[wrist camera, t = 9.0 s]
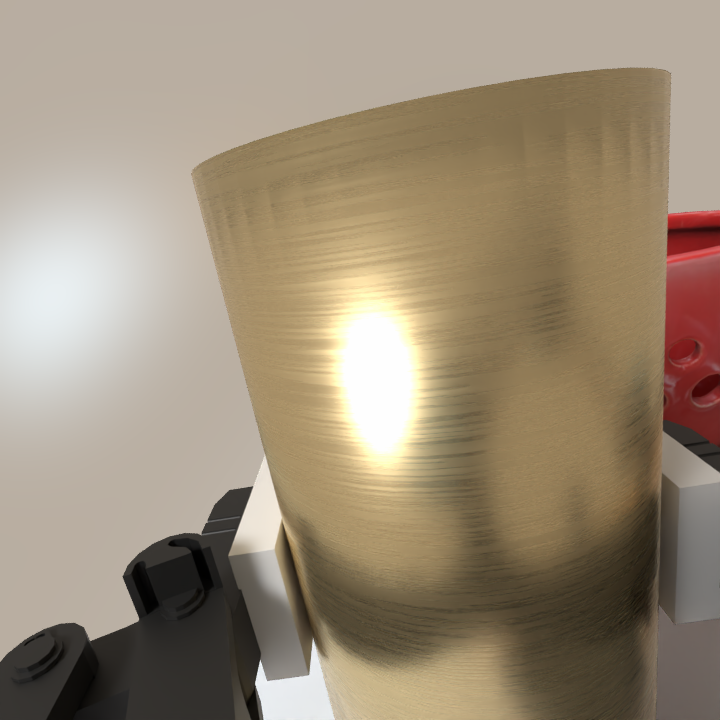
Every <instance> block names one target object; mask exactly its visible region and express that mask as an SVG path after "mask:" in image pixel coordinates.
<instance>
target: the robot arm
mask: <svg viewBox="0 0 720 720" xmlns="http://www.w3.org/2000/svg"><path fill="white" fill-rule="evenodd" d="M123 579H124V582H125V584H126V586H127V589H128V591H129V594H130V596H131V599H132V601H133V604H134V606H135V609H136V611H137V614H138V616H139V621H138V622H136V623H134V624H132V625H130V626H128V627H126V628H123V629H120V630H118V631H115V632H113V633H110V634H108V635H105V636H102V637H100V638H97V639H95V640H92V641H90V640H89V638H88V635H87V633H86V631H85V629H84V627H82V626H80V625H78V624H76V623H65V624H58V625H55V626H52V627H50V628H47V629H44V630H42V631H40V632H38V633H36V634H35V635H32V636H31V637H29V638H27V639H26V640H24V641H23V642H22V643H20V644H19V645H18V646H17V647H16V648H14V649H13V650H12V651H10V652H9V653H8V654H7V655H6V656H5V657H4V658H3V660H2V661H1V662H0V720H263V714H262V707H261V701H260V698H259V695H258V692H257V689H256V686H255V681H256V676H257V671H258V667H259V662H260V659H261V663H262V666H263V669H264V672H265V675H266V679H267V681H270V680H278V679H285V678H292V677H299V676H306V675H309V670H310V660H311V650H312V640H313V634H312V631H311V627H310V623H309V619H308V615H307V612H306V608H305V604H304V600H303V596H302V593H301V589H300V585H299V581H298V577H297V574H296V570H295V566H294V562H293V558H292V555H291V551H290V547H289V543H288V539H287V536H286V532H285V528H284V524H283V520H282V517H281V513H280V509H279V505H278V501H277V498H276V494H275V490H274V486H273V482H272V479H271V475H270V471H269V467H268V463H267V460H266V456H264V459H263V462H262V465H261V467H260V470H259V473H258V476H257V478H256V481H255V484H254V486H253V487H247V488H240V489H234V490H229V491H228V492H227V493H226V494H225V495H224V496H223V497H222V498H221V499H220V500H219V501H218V502H217V503H216V504H215V505H214V508H213V509H212V512H211V514H210V516H209V518H208V523H206V524H205V527H204V529H203V531H202V536H201V535H199V534H195V533H193V534H192V533H183V534H179V535H174V536H170V537H167V538H165V539H163V540H161V541H158V542H156V543H154V544H152V545H151V546H149V547H148V548H146V549H145V550H144V551H142V552H141V553H139V554H138V555H137V556H136V557H135V558H134V559H133V560H132V561H131V563H130V564H129V565H128V566H127V568H126V571H125V573H124V575H123ZM659 605H660V606H661V607H662V609H663V610H664V611H665V612H666V614H667V615H668V616H669V618H670V619H671V620H672V622H673V623H674V624H675V625H676V624H683V623H691V622H698V621H705V620H712V619H720V448H719V447H718V446H716V445H715V444H713V443H710V442H709V440H707V439H706V438H704V437H703V436H701V435H700V434H698V433H697V432H695V431H694V430H692V429H691V428H688V427H685V426H682V425H679V424H677V423H674V422H671V421H668V420H663V439H662V482H661V525H660V568H659Z"/></svg>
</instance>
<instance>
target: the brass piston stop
mask: <svg viewBox="0 0 720 720" xmlns="http://www.w3.org/2000/svg"><path fill="white" fill-rule="evenodd" d="M670 95H671V73H669V72H668V71H666V70H661V69H655V68H618V69H603V70H592V71H582V72H573V73H564V74H557V75H550V76H543V77H535V78H528V79H522V80H515V81H509V82H504V83H498V84H492V85H486V86H480V87H474V88H469V89H464V90H459V91H453V92H448V93H443V94H439V95H433V96H428V97H423V98H418V99H414V100H409V101H405V102H400V103H396V104H391V105H387V106H382V107H378V108H373V109H369V110H365V111H361V112H357V113H353V114H349V115H345V116H340V117H336V118H333V119H328V120H325V121H321V122H317V123H314V124H310V125H307V126H303V127H299V128H296V129H292V130H288V131H285V132H282V133H279V134H276V135H272V136H269V137H266V138H262V139H259V140H256V141H253V142H250V143H248V144H245V145H242V146H239V147H236V148H234V149H231V150H228V151H226V152H223V153H221V154H219V155H216V156H214V157H212V158H210V159H208V160H206V161H204V162H202V163H201V164H199V165H198V166H197V167H195V168H194V169H193V171H192V173H191V175H192V178H193V182H194V186H195V190H196V194H197V198H198V201H199V205H200V209H201V212H202V217H203V220H204V224H205V227H206V232H207V236H208V239H209V243H210V247H211V251H212V254H213V258H214V262H215V266H216V270H217V273H218V277H219V281H220V285H221V289H222V292H223V296H224V300H225V304H226V307H227V311H228V315H229V319H230V323H231V327H232V331H233V334H234V338H235V342H236V345H237V350H238V353H239V357H240V360H241V365H242V368H243V372H244V376H245V380H246V384H247V388H248V391H249V395H250V399H251V402H252V406H253V410H254V414H255V418H256V422H257V425H258V429H259V433H260V437H261V440H262V444H263V448H264V452H265V456H266V460H267V463H268V467H269V471H270V475H271V479H272V482H273V486H274V490H275V494H276V498H277V501H278V505H279V509H280V513H281V517H282V520H283V524H284V528H285V532H286V536H287V539H288V543H289V547H290V551H291V555H292V558H293V562H294V566H295V570H296V574H297V577H298V581H299V585H300V589H301V593H302V596H303V600H304V604H305V608H306V612H307V615H308V619H309V623H310V627H311V631H312V634H313V638H314V642H315V646H316V650H317V653H318V657H319V661H320V665H321V669H322V672H323V676H324V680H325V684H326V688H327V691H328V695H329V699H330V703H331V707H332V710H333V714H334V718H335V720H656V696H657V653H658V610H659V568H660V525H661V482H662V439H663V396H664V353H665V311H666V268H667V225H668V182H669V138H670Z"/></svg>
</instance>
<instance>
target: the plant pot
mask: <svg viewBox="0 0 720 720" xmlns="http://www.w3.org/2000/svg"><path fill="white" fill-rule="evenodd" d="M663 420H668V421H671V422H674V423H677V424H679V425H682V426H685V427H688V428H691V429H692V430H694V431H695V432H697V433H698V434H700V435H701V436H703V437H704V438H706V439H707V440H709V442H710V443H713V444H715V445H716V446H718V447H719V448H720V210H717V211H697V212H684V213H673V214H668V225H667V268H666V311H665V353H664V396H663Z"/></svg>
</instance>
